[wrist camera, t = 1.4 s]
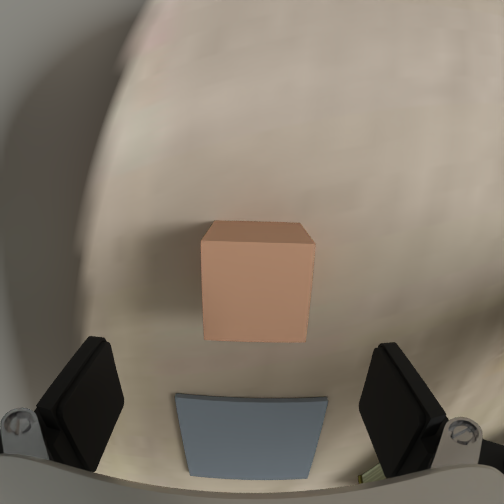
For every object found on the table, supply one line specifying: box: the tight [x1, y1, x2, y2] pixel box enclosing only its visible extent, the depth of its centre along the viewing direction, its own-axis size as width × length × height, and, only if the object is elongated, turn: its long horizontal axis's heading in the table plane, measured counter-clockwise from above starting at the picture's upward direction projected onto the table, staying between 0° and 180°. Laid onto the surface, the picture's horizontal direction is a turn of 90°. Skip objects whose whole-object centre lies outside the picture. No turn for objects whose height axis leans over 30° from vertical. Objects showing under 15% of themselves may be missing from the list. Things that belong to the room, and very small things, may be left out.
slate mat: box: [175, 393, 328, 480], centre depth 28 cm, size 14×14×1 cm
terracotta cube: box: [201, 221, 315, 342], centre depth 20 cm, size 6×6×6 cm
